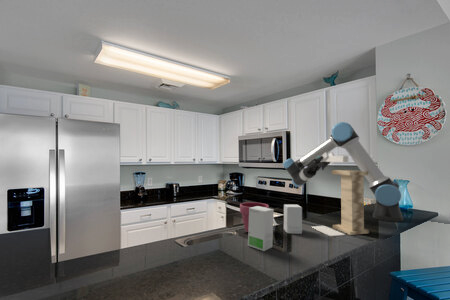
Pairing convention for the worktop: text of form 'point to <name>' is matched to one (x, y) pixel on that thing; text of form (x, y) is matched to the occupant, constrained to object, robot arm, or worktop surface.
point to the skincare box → (260, 228)
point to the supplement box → (293, 219)
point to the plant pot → (245, 211)
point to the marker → (335, 159)
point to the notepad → (328, 231)
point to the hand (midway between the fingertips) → (330, 154)
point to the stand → (351, 202)
